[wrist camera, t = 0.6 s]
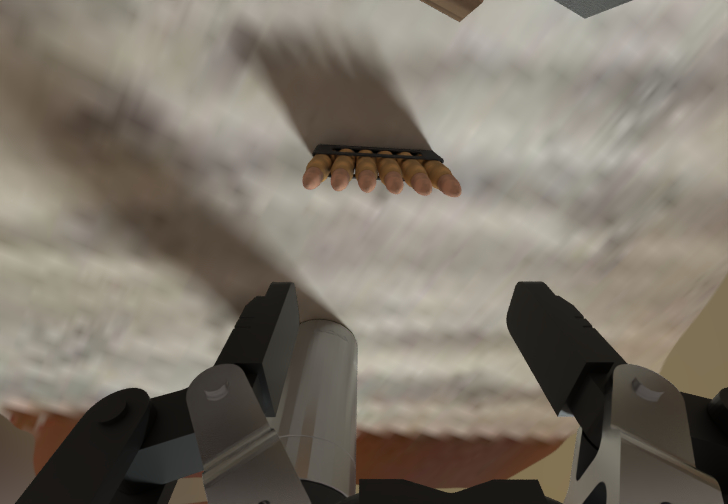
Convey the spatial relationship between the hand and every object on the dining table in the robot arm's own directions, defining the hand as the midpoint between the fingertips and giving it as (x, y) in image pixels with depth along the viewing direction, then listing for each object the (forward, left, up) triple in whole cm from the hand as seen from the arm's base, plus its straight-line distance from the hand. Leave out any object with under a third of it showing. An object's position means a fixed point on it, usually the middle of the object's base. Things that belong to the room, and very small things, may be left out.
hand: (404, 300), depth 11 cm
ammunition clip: (+2, +1, -20) cm, 20 cm away
